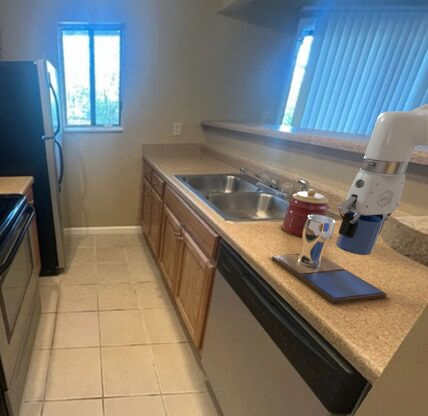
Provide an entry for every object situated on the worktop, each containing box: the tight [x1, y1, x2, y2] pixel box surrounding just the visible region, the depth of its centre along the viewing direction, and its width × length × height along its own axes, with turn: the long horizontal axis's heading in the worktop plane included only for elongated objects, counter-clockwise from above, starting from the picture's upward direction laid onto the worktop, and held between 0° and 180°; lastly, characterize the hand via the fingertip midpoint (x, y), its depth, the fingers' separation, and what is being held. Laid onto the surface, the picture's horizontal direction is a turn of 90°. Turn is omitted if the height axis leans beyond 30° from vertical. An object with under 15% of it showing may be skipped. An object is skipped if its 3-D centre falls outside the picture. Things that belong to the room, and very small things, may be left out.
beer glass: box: [297, 215, 337, 267], centre depth 84 cm, size 7×7×15 cm
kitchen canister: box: [282, 188, 331, 238], centre depth 107 cm, size 13×13×18 cm
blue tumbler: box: [335, 212, 385, 256], centre depth 71 cm, size 7×7×9 cm
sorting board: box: [271, 253, 388, 305], centre depth 81 cm, size 16×22×1 cm
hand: (358, 234), depth 71 cm, fingers closed on blue tumbler, 7 cm apart
